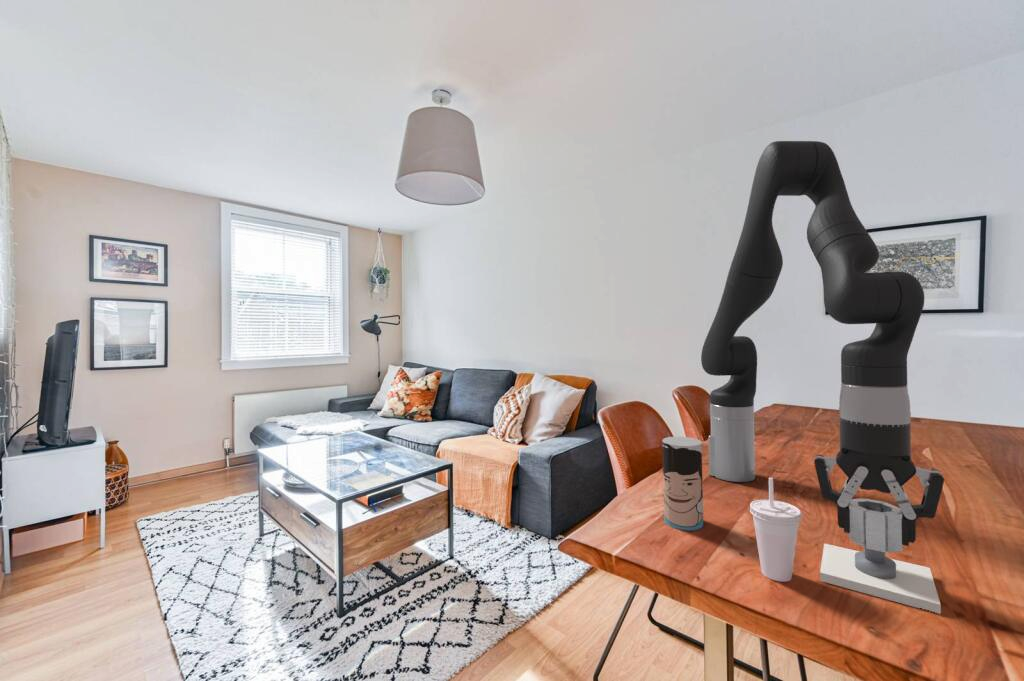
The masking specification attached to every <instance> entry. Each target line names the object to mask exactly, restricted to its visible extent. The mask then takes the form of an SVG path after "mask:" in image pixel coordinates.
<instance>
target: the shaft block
mask: <svg viewBox="0 0 1024 681" xmlns="http://www.w3.org/2000/svg"><path fill="white" fill-rule="evenodd" d="M821 557H822V558H821V561H820V562H821V564H820V569H819V570H820V571H819V581H820V582H823V583H827V584H830V585H834V586H837V587H840V588H845V589H848V590H851V591H855V592H860V593H863V594H865V595H866V594H867V595H868V596H869V595H870V596H874V597H878V598H881V599H884V600H887V601H892V602H896V603H897V604H898V603H900V604H902V605H906V606H910V607H912V608H913V607H914V608H917V609H920V608H922V609H921V610H924V609H927V610H930V611H929V612H931V611H932V612H931V613H934V612H935V613H934V614H939V615H941V613H942V611H941V610H942V608H941V602H940V598H939V594H938V591H937V588H936V584H935V581H934V577H933V574H932V571H931V568H930V567H927V566H924V565H919V564H915V563H911V562H907V561H903V560H898V559H893V558H889V557H888V556H886V553H885V552H881V551H876V550H872V549H867V548H866V547H864V551H859V550H854V549H850V548H847V547H841V546H839V545H833V544H829V543H823V550H822V555H821ZM927 610H926V611H927Z"/></svg>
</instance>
